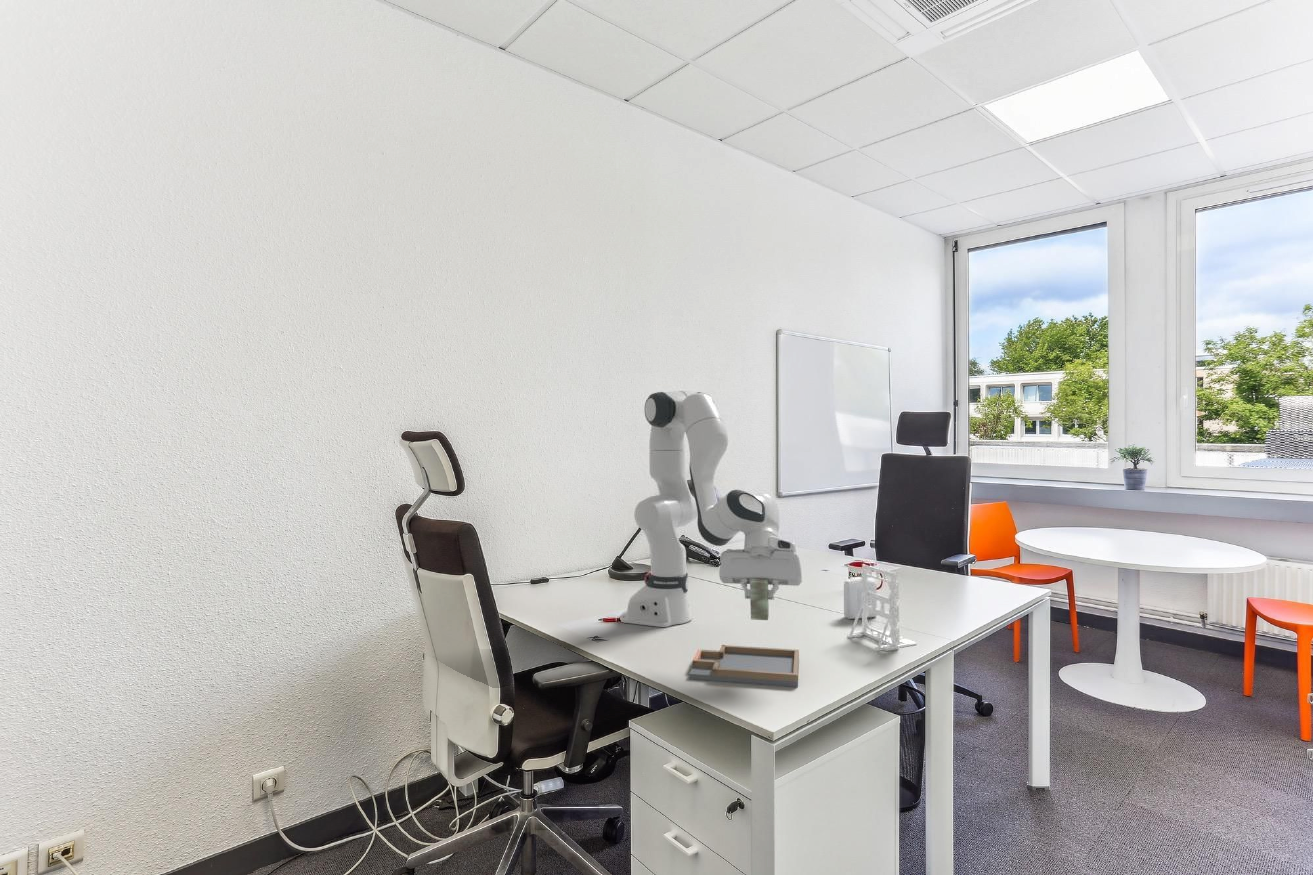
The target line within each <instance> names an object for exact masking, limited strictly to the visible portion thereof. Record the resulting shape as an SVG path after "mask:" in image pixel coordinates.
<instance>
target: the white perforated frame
mask: <svg viewBox="0 0 1313 875" xmlns="http://www.w3.org/2000/svg"><path fill="white" fill-rule="evenodd" d="M861 566H862V567H861V572H860V573H861V574H860V577H861V582H862V588H863V593H862V598H861V601H862V603H861V606H860V609H859V611H858V613H857V616H856V619H854V621H853V625H852V626H851V627H852V628H851V631H850V633H849V634H847V636H846V637H848V638H847V639H854V638H853V637H855V638H860V637H863V636H865V635H866V637H867V638H870V639H872V640H874V641H877V642H878V643H877V644H878V645H877V646H875V647H874V651H875V650H876V652H881V650H882V651H885V652H888V651H889V650H890V651H895V650H899V649H901V648H906V647H907V648H908V647H913V646H917V644H918V643H917V642H916V641H914V640H911V639H909V638H904V636H900V627H898V623H900V605H899V604H898V600H900V594H899V591H900V590H899V589H900V588H899V586H900V584H899V581H898V577H897V575H898V574H897V572H892V571H888V570H885V569H881V568H877V567H874V566H871V565H867V564H865V563H862V564H861ZM867 570H868V571H870V573H867ZM873 572H875V573H876V575H873ZM880 574H882V575H883V577H880ZM887 576H889V577H890V579H887ZM868 578H872V579H877V580H880V581H883V582H886V583H887V584H888V588H889V590H890V592H889V596H887V597H886V596H885V595H881V594H879V593H877V594H876V593H873V592H870V591H869V590H868V587H867V584H866V582H867V579H868ZM868 597H870V598H872V607H871V606H868ZM876 600H877V601H879V602H880V609H879V608H877V607H878V606H877V607H876ZM886 604H888V605H889V608H888V612H887V611H886V608H885V606H886ZM861 609H863V614H862V618H861V622H862V623H861V625H862V626H861V627H862V628H861V629H862V630H861V631H859V630H856V631H855V629H856V626H857V623H858V620H859V619H860V618H859V615H860V612H861ZM869 612H871V613H873V614H876V615H877V616H879V617H880V618H883V619H886V620H887V621H886V624H885V625H884V628H883V629H881V630H878V629H875V628H873V627H871V626H870V624H869V620H868V618H867V616H868V614H869ZM889 625H890V626H889ZM888 626H889V627H890V631H889V630H888ZM868 630H870V631H868ZM876 635H877V636H876ZM901 643H902V644H901ZM890 651H889V652H890Z"/></svg>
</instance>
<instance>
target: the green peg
mask: <svg viewBox="0 0 1313 875" xmlns="http://www.w3.org/2000/svg"><path fill="white" fill-rule="evenodd" d="M749 589H750V599H749V600H750V604H749V605H750V620H753V621H755V620H756V621H768V620H769V613H770V612H769V599H768V597H767V594H768V590H769V585H768V579H753V578H751V581H750V584H749Z"/></svg>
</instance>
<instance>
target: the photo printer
mask: <svg viewBox="0 0 1313 875" xmlns="http://www.w3.org/2000/svg"><path fill="white" fill-rule="evenodd" d="M866 584H867V587H868V590H869V591H870V592H873V593H876V594H878V593H877V591H878V590H877V588H878V587H877V582H876V580H875V578H872V577H868V579H867V582H866ZM862 593H863V588H862V582H861V576H856V577H852V578H848V579H847V580H845V581H844V582H843V615H844V618H845V619H847V620H852V619H853V620H855V619H856V616H857V613H858V611H859V609H860V606H861V603H862V601H861V598H862ZM877 601H878V600H876V607H878V603H877ZM868 606H871V607H872V598H870V597H868ZM862 614H863V609H861V612H860V615H859V618H858V619H862ZM877 616H878V615H876V614H873V613H871V612H869V614H868V616H867V619H868V618H876V617H877Z"/></svg>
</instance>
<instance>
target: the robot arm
mask: <svg viewBox="0 0 1313 875" xmlns="http://www.w3.org/2000/svg"><path fill="white" fill-rule="evenodd" d="M644 416H645V419H646V421H647V422H648V424H649V425H650V426H651V427H650V434H649V448H648V449H649V475H650V477H651V479H653V480H654V481H655V482H656V485H657V488H658V493H659V494H658V495H651V496H649V497H646V498H645V499H643V500H641V501H640V502H638V503H637V505H636V506H635V509H634V515H633V516H634V520H635V523H636V525H637V526H638V527H639V528H640V529H641V530H642V532H643V533H644V535H645V537H646V539H647V543H648V547H649V552H650V570H649V571H648V572H647V573H646V574H645V576H644V578H643V579H644V586H642V587H641V588H640V589H638V591H636V592H635V593H633V595H631V597H629V600H628V603H627V609H626V610H624V611H623V612H622V613H621V615H620V617H619V618H620V619H619V620H621V621H620V622H621V623H626V624H633V625H642V626H650V627H659V628H668V627H670V626H675V625H682V624H685V623H688V622H690V621H692V620H693V615H692V613H691V612H692V611H691V608H690V603H689V596H688V592H689V591H688V590H689V577H688V576H689V575H688V572H687V550H686V547H685V545H684V544H683V543H681V542H680V540H679V538H678V537H679V536H678V533H677V528H680V527H684V526H687V525H688V524H690V523H692V522H693V521H695V520H696V519H697V529H698V532H699V534H700V536H701V537H702V539H703V540H705V542H707V543H709V544H711V545H713V546H717V547H721V546H722V547H723V546H725V545H727V544H728V543H729V542H730V541H731V540H732V539H733V538H734V537H735V536H736V535H738V533H740V532H741V533H743V534H744V542H743V543H744V546H743V548H742V549H740V548H739V549H731V548H728V549H726V550H723V551H722V552H721V553H720V556H719V558H720V559H719V562H720V566H719V572H718V573H719V574H718V575H719V579H720V581H721V582H722V583H723V584H736V585H737V584H739V585H740V586H741V588H742V590H743V591H744V598H745V599H746V600H747V599H748V600H750V588H748V585H750V581H751V578H753V579H768V586H769V585H770V586H772V587H771V589H768V594H767V597H768V601H771V600H772V601H774V600H775V594H776V593H777V591H778V590H779V588H780V586H794V587H795V586H796V587H797V586H800V585H801V584H802V582H803V578H802V567H801V566H802V565H801V561H800V558H799V555H798V554H797V547H796V544H795V543H794V542H791V541H789V540H784V539H781V538H779V535H778V533H779V530H780V511H779V506H778V505H777V502H776V500H775V499H774V498H773V497H772V496H770V495H769V494H766V493H755V494H751V493H749V492H747V491H744V490H741V489H733V490H730V491H729V492H728V493H726V494H725V495H724V496H723V497H721V498H720V499H719V500H718V497H717V493H716V489H715V485H714V478H715V477H714V476H715V473H716V471H717V467H718V465H719V464H720V461H721V459H722V458H723V456H724V455H725V453H726V451H727V448H728V445H729V435H728V431H727V428H726V425H725V422H724V421H723V417H722V415H721V414H720V412H719V410H718V408H717V406H716V404H715V401H714V399H713V398H712V396H711V395H709V394H708V393H705V392H700V391H698V392H694V391H687V390H679V391H666V392H664V391H657V392H654V393H651V394H650V395H649V396H648V397H647V399H646V400H645V403H644ZM685 435H686V438H687V442H688V447H689V475H690V480H691V486H692V491H693V494H692V492H691V490H690V487H689V485H688V480H687V475H686V462H685V461H686V458H685V457H686V456H685V454H686V452H685V451H686V450H685V449H686V448H685ZM693 495H694V496H693Z"/></svg>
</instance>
